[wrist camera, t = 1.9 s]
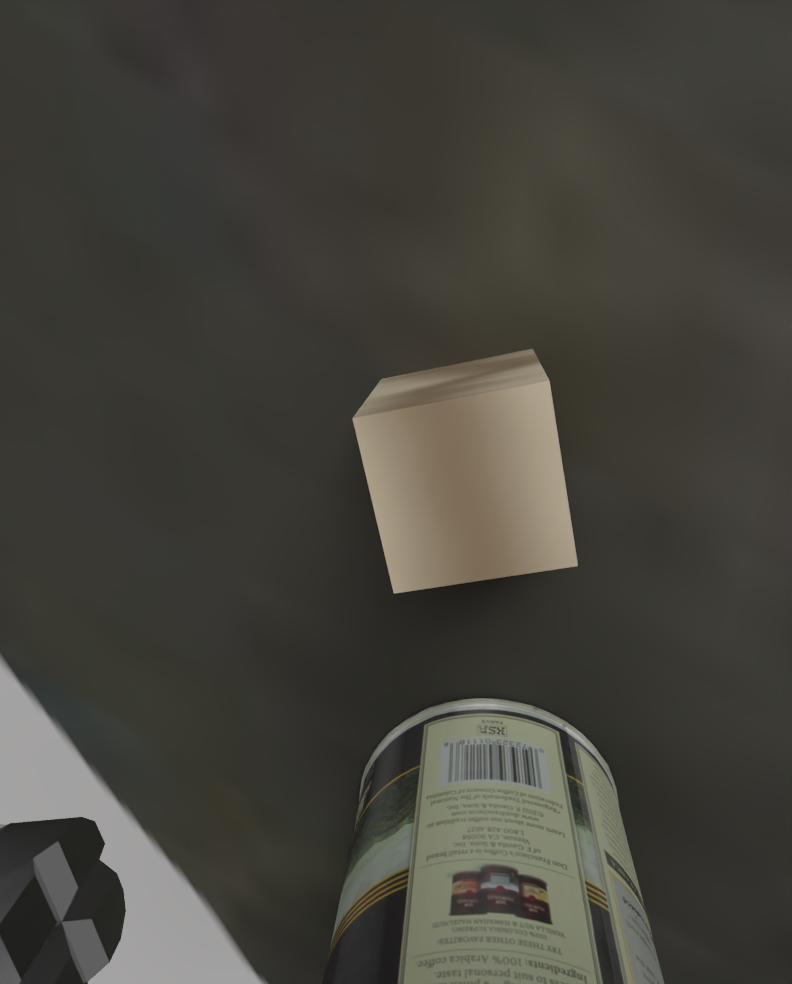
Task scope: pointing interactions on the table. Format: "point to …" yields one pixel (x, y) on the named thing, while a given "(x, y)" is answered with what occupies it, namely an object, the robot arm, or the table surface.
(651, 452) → the table surface
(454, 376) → the beech block
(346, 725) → the table surface
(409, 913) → the coffee can
